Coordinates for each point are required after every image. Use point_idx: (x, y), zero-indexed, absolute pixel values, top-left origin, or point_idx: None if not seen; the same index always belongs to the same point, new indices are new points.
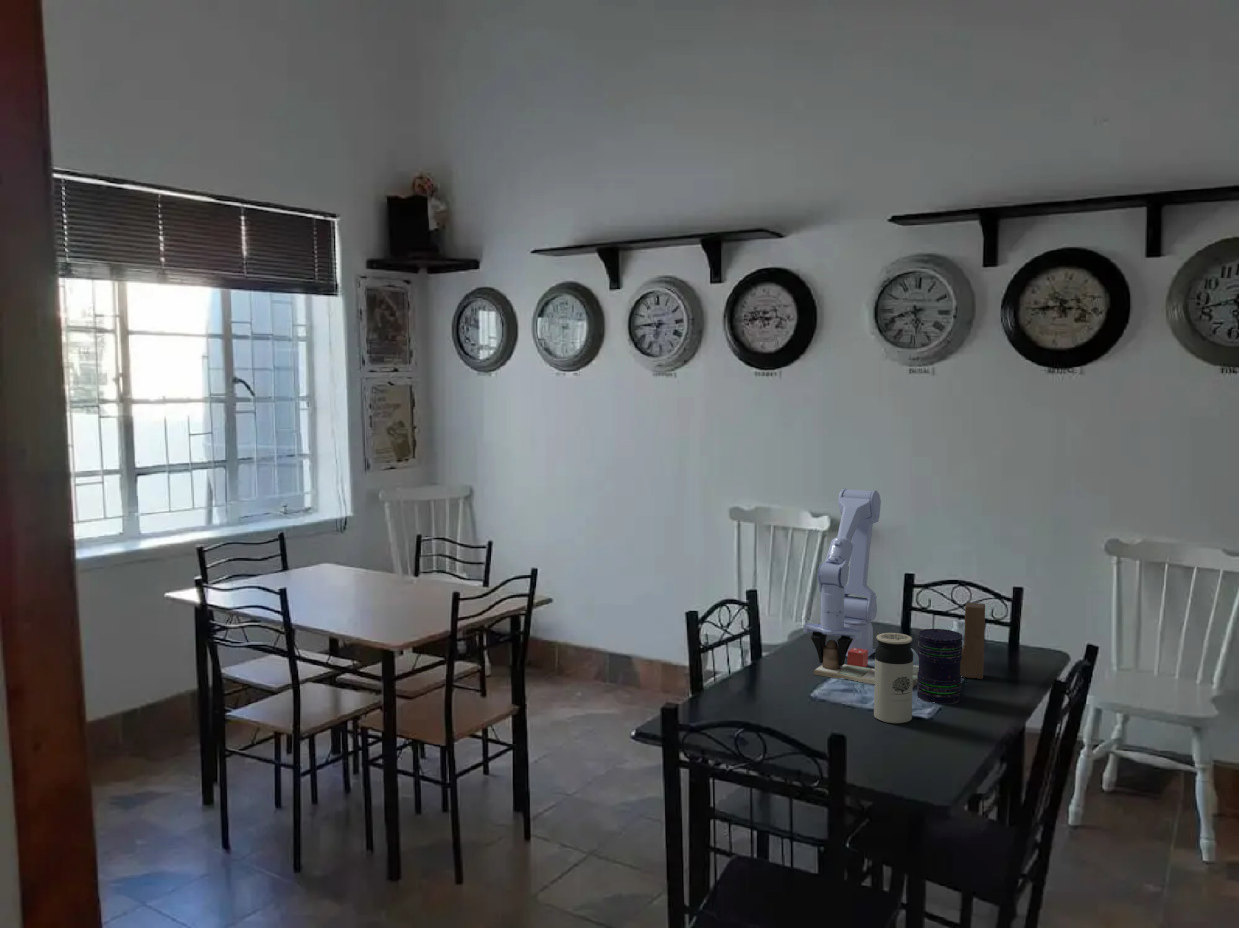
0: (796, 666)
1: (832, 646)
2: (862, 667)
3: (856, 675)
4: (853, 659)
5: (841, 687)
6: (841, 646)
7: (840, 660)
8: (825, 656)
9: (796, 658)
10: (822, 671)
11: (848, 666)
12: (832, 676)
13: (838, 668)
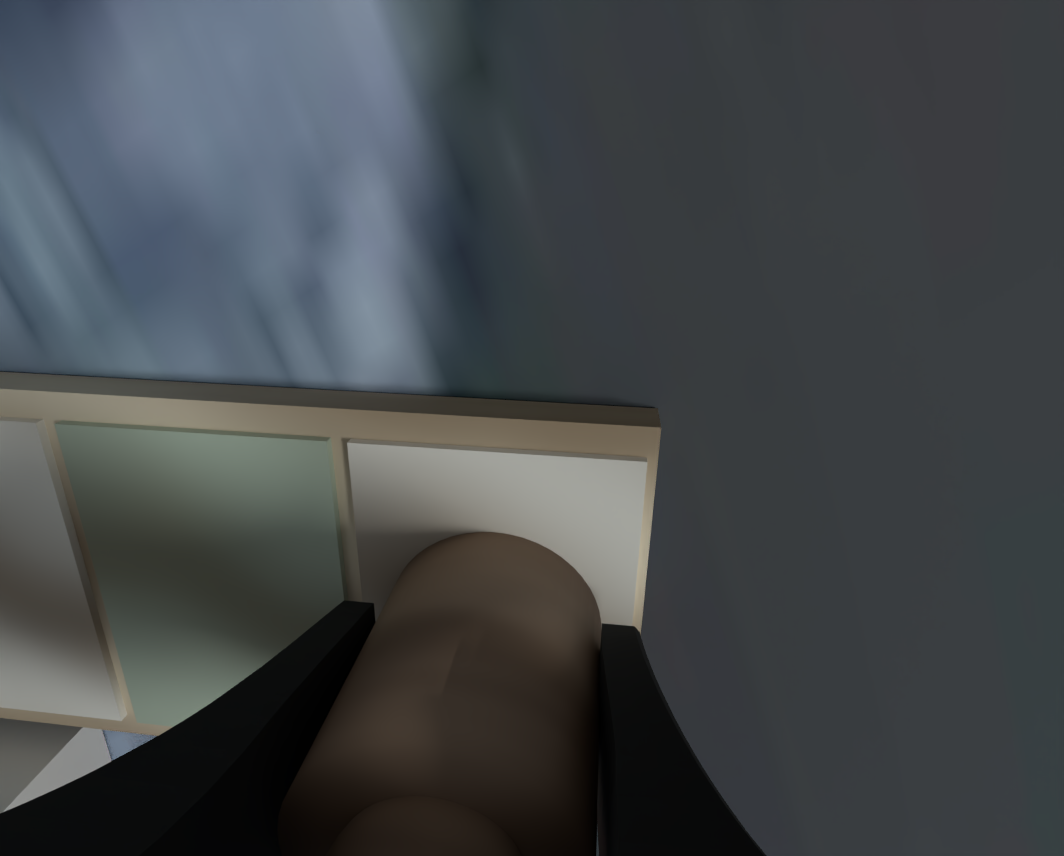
0: (945, 617)
1: (367, 842)
2: None
3: (115, 445)
4: None
5: (145, 48)
6: (105, 805)
7: (310, 640)
8: (521, 655)
9: (991, 851)
10: (544, 444)
11: None
12: (408, 399)
13: (393, 588)
